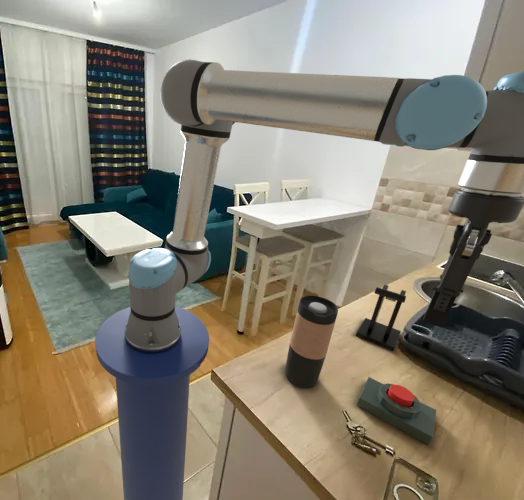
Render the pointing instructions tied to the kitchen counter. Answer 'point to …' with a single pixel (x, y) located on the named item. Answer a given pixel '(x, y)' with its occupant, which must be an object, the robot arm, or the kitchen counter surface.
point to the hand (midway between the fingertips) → (432, 322)
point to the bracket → (381, 326)
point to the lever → (390, 295)
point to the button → (401, 395)
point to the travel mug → (310, 340)
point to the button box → (398, 411)
